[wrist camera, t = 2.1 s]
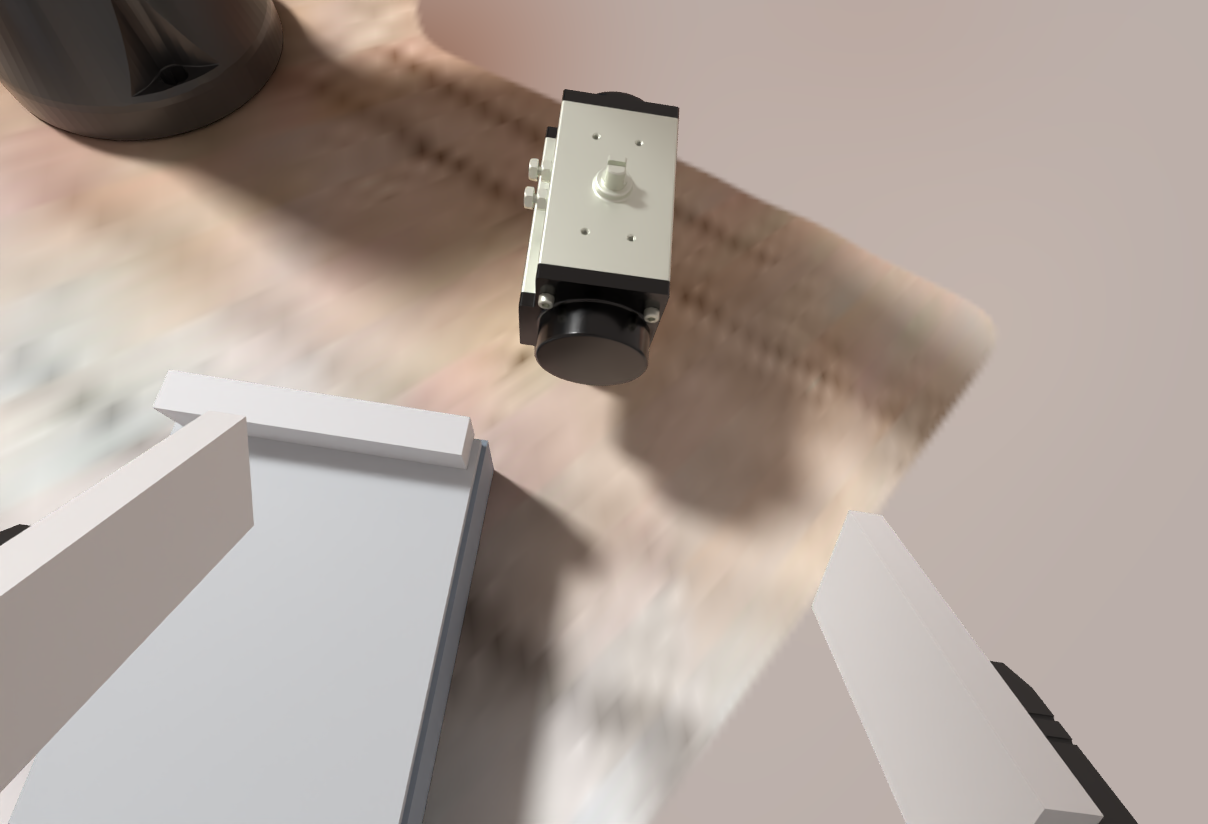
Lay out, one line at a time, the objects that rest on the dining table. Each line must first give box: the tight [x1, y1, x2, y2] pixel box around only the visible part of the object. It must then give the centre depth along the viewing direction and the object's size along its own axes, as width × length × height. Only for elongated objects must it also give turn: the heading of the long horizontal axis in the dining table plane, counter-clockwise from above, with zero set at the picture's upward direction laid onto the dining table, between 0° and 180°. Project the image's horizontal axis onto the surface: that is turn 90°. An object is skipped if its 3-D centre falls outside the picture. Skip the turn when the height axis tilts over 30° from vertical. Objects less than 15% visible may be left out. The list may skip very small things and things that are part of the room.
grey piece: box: [8, 370, 494, 824], centre depth 22 cm, size 22×12×7 cm, turn 173°
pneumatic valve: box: [519, 89, 679, 385], centre depth 27 cm, size 6×12×12 cm, turn 175°
